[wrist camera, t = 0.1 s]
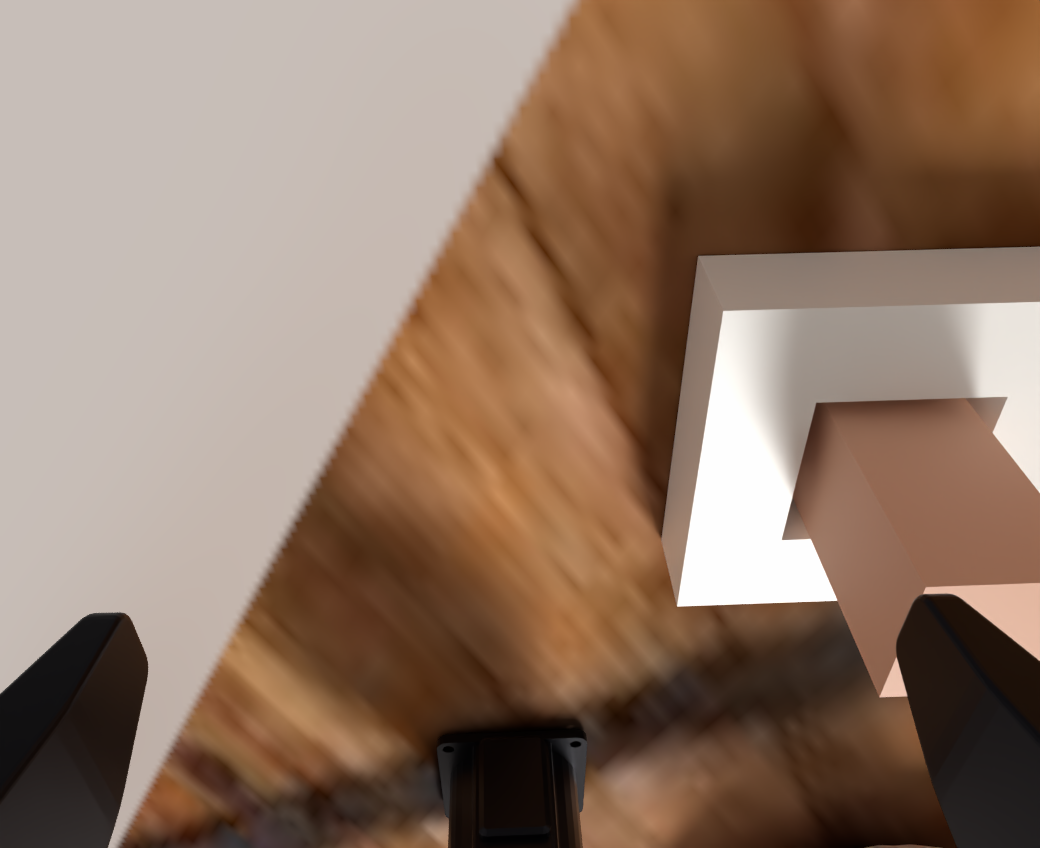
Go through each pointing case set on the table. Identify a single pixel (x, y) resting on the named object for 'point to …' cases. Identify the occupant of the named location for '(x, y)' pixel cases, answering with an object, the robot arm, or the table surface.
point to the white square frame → (829, 391)
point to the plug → (918, 520)
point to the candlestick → (901, 846)
